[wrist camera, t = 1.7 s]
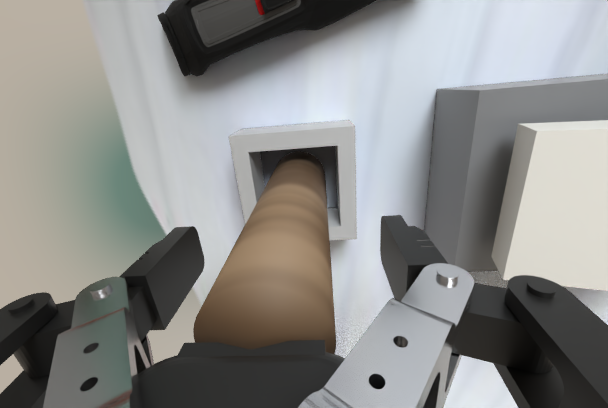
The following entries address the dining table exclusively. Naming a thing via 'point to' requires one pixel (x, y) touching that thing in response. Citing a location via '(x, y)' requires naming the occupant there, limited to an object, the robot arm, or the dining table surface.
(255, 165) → the holder
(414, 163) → the dining table surface
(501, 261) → the rocker switch
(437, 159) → the switch box
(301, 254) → the wooden peg
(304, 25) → the electric trimmer
